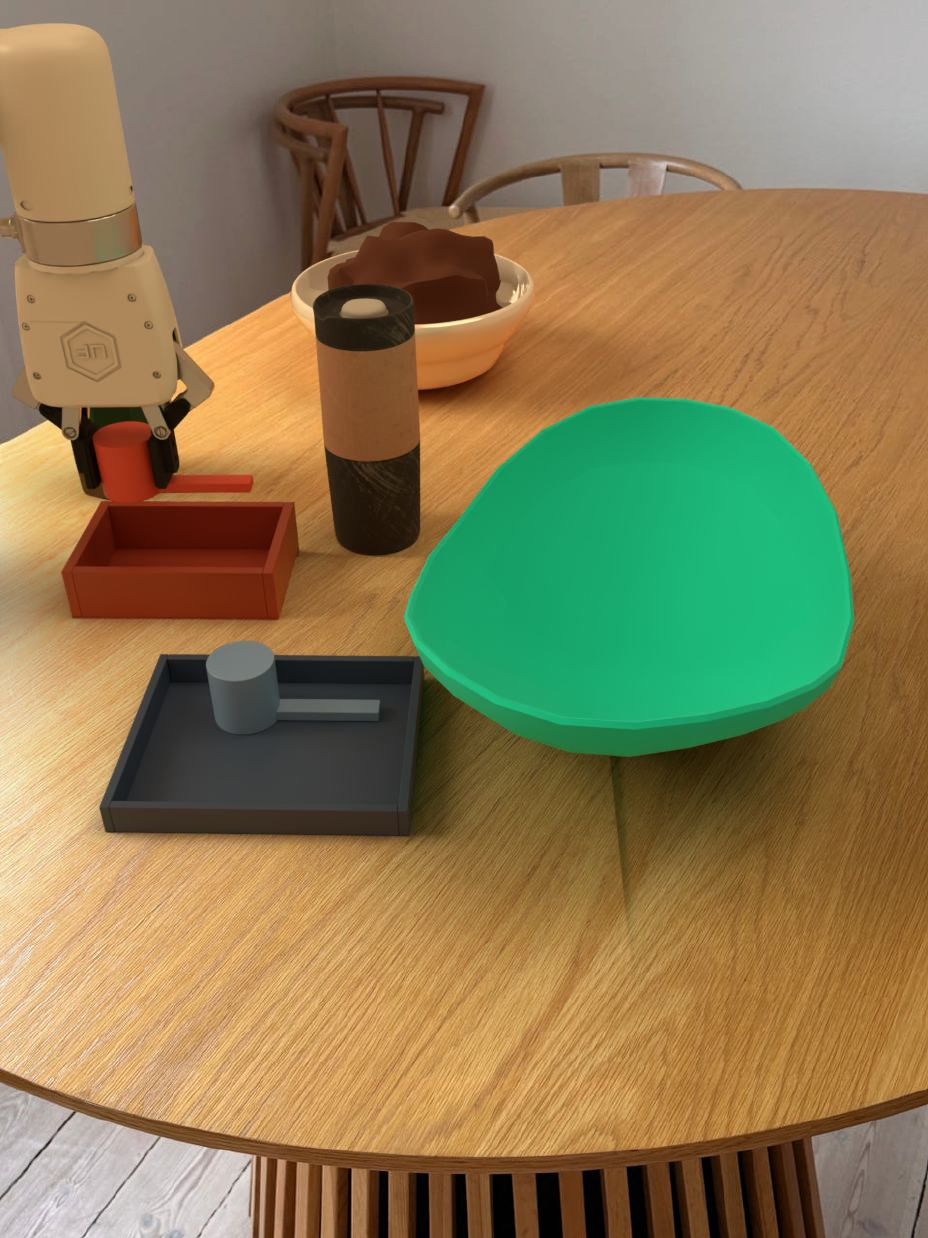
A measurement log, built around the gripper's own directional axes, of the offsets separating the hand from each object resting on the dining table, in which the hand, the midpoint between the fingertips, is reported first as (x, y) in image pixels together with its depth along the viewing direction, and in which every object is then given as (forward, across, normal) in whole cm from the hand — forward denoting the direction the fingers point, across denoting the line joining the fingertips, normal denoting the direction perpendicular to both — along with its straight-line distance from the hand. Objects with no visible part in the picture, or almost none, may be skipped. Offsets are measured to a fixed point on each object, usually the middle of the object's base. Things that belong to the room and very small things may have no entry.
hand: (131, 478), depth 90 cm
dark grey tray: (+9, +13, -20) cm, 26 cm away
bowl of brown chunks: (+10, +18, +42) cm, 47 cm away
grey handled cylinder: (+9, +14, -16) cm, 23 cm away
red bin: (+9, +3, 0) cm, 10 cm away
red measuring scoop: (+1, +3, 0) cm, 3 cm away
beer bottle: (+10, -7, +17) cm, 21 cm away
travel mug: (+10, +17, +8) cm, 21 cm away
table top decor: (+10, +36, -13) cm, 40 cm away
